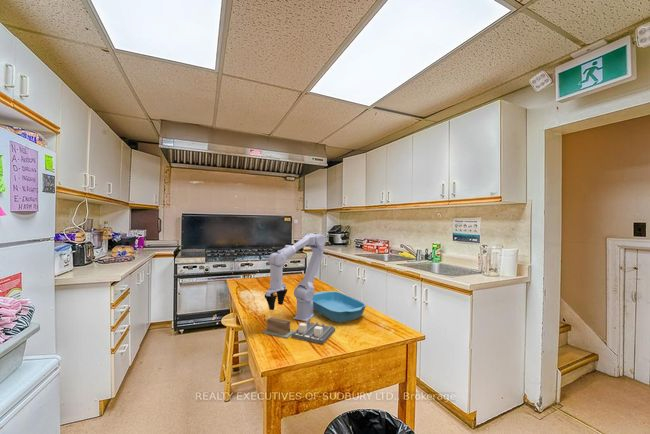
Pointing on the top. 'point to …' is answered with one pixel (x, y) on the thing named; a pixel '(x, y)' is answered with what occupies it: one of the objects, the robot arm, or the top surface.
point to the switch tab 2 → (318, 331)
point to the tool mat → (278, 333)
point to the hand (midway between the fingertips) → (276, 307)
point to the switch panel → (310, 333)
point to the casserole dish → (337, 306)
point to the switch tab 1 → (302, 328)
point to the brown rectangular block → (278, 325)
